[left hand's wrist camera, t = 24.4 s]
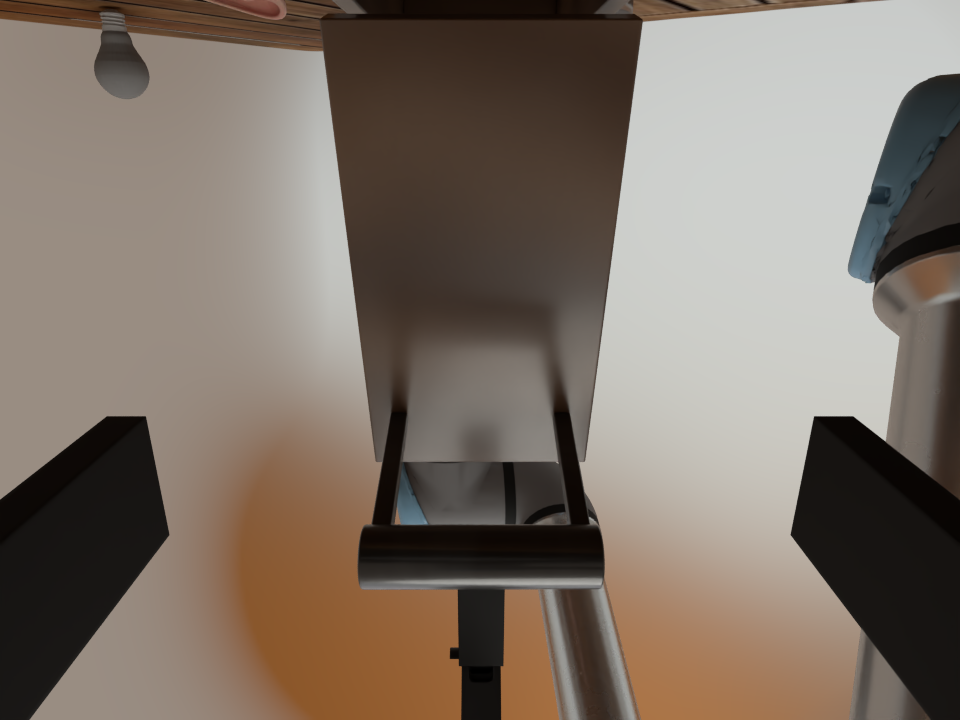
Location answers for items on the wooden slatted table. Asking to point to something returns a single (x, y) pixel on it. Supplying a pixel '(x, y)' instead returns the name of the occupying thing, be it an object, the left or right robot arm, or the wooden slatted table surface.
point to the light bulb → (119, 59)
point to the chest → (481, 6)
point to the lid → (480, 265)
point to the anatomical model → (256, 7)
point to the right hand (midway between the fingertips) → (481, 667)
